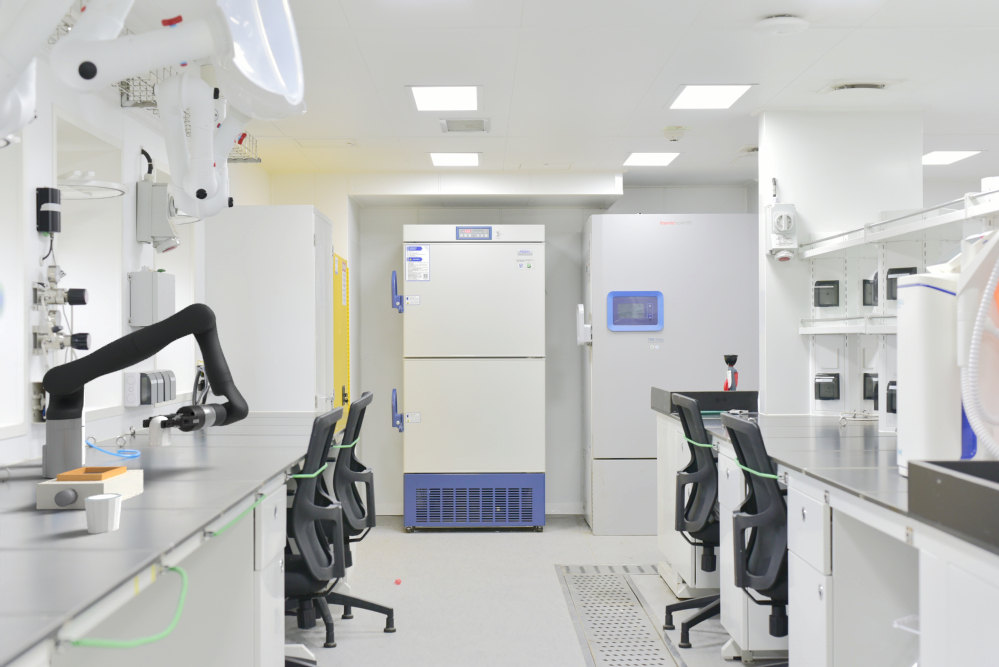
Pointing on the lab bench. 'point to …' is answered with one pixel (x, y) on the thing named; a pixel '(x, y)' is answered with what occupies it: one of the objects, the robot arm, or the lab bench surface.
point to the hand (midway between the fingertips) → (152, 424)
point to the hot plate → (88, 486)
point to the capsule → (159, 433)
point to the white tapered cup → (103, 512)
